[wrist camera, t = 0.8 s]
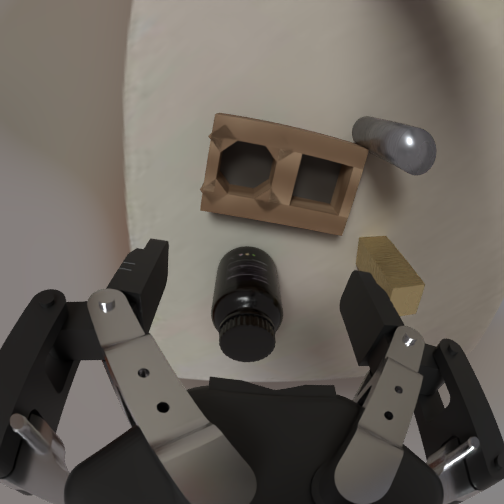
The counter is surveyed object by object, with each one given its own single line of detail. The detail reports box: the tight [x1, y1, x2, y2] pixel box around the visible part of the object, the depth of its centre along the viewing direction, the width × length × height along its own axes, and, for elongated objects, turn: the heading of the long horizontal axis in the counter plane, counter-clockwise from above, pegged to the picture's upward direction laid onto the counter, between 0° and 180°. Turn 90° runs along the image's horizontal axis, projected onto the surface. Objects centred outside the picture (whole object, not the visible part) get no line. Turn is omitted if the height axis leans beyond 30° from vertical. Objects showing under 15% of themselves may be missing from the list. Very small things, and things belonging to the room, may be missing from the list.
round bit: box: [352, 116, 436, 175], centre depth 22 cm, size 4×4×10 cm
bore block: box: [200, 113, 369, 236], centre depth 27 cm, size 9×14×4 cm, turn 79°
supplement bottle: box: [211, 247, 283, 362], centre depth 29 cm, size 7×7×12 cm
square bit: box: [356, 236, 425, 316], centre depth 29 cm, size 4×4×10 cm
